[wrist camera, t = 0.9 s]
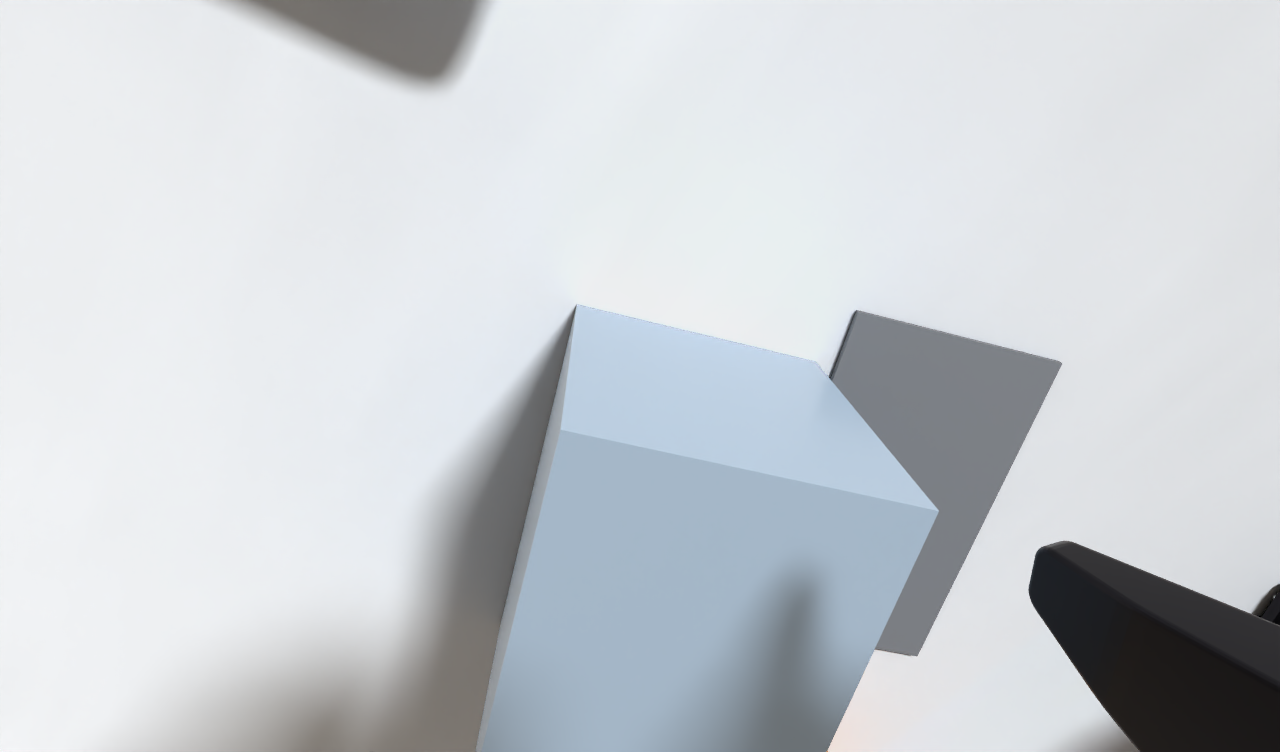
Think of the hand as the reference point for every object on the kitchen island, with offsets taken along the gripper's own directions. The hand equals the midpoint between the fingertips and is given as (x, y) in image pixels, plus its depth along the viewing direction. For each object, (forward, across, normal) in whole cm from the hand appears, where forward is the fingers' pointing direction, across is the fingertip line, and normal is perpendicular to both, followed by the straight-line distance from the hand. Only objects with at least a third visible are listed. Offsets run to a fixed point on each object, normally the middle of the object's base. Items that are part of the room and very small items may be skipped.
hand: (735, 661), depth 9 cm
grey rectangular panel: (+11, -9, +9) cm, 17 cm away
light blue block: (+13, -2, +8) cm, 15 cm away
